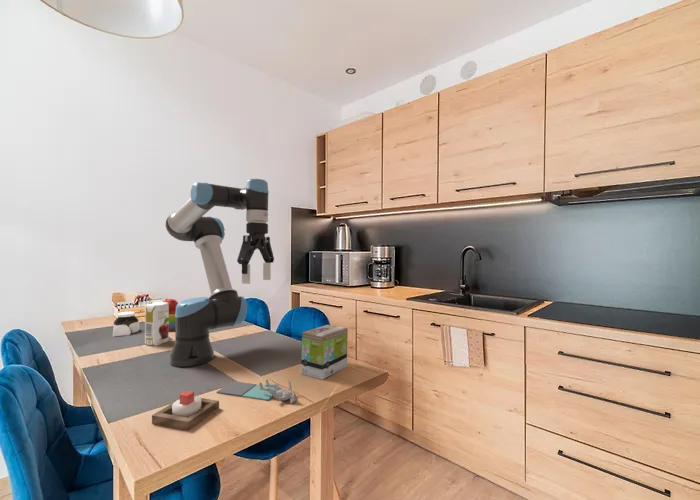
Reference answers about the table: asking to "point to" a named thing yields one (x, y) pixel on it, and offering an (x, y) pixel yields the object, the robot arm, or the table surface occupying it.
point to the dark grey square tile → (236, 388)
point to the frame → (185, 423)
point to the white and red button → (186, 405)
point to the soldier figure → (279, 392)
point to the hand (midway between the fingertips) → (257, 281)
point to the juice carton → (156, 323)
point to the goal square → (259, 393)
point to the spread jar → (125, 324)
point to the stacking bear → (171, 313)
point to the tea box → (324, 351)
